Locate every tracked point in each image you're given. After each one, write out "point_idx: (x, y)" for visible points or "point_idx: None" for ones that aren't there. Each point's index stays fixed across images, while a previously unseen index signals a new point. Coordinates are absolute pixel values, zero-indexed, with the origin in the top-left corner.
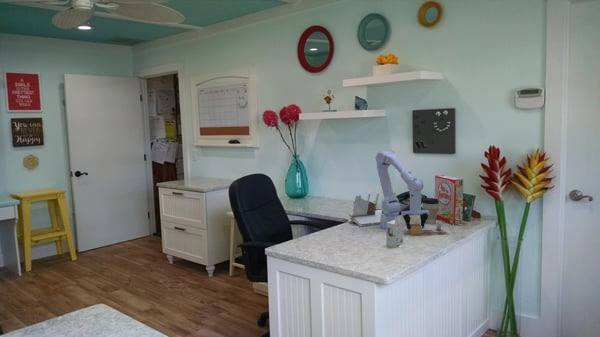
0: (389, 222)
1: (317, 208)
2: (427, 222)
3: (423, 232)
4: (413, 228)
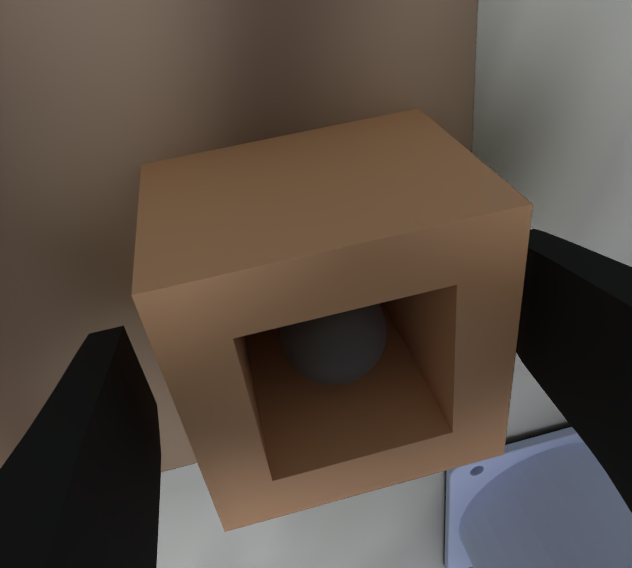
0: None
1: None
2: None
3: (93, 319)
4: (446, 181)
